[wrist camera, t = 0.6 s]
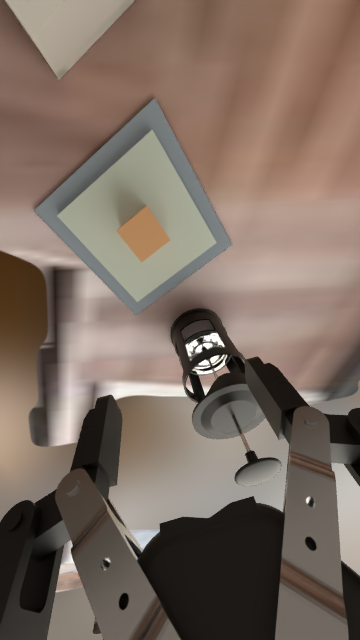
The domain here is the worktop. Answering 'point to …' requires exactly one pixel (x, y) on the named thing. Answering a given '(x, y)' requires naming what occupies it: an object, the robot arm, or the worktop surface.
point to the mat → (99, 164)
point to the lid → (139, 219)
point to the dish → (66, 26)
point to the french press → (221, 391)
